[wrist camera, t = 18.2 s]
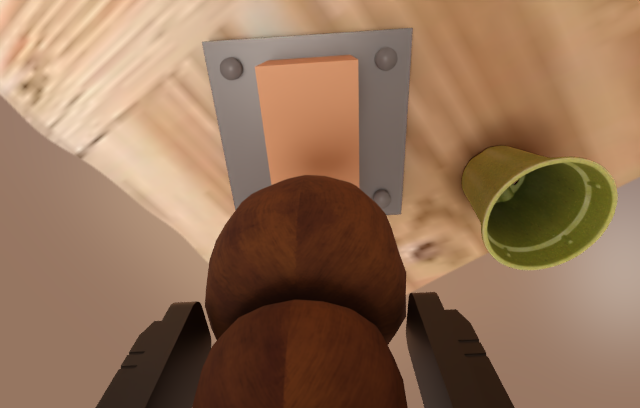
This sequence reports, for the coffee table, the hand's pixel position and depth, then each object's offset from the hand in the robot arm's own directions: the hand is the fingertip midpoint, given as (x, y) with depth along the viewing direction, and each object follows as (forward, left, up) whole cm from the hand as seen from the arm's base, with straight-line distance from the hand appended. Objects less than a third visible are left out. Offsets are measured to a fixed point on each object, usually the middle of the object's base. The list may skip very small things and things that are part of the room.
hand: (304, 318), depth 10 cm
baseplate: (0, 0, -22) cm, 22 cm away
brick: (0, 0, -20) cm, 20 cm away
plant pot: (-17, +5, -22) cm, 28 cm away
